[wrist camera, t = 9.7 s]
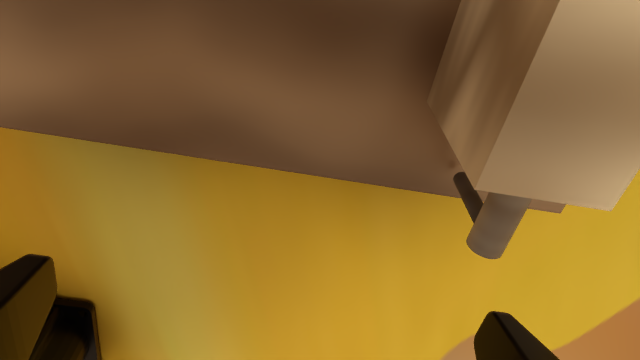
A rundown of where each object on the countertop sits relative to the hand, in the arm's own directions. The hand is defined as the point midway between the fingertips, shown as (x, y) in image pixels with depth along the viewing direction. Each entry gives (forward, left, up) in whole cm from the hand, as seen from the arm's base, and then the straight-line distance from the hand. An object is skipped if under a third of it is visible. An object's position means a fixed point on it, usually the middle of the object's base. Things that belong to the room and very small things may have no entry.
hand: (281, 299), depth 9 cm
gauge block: (+3, -7, -9) cm, 12 cm away
